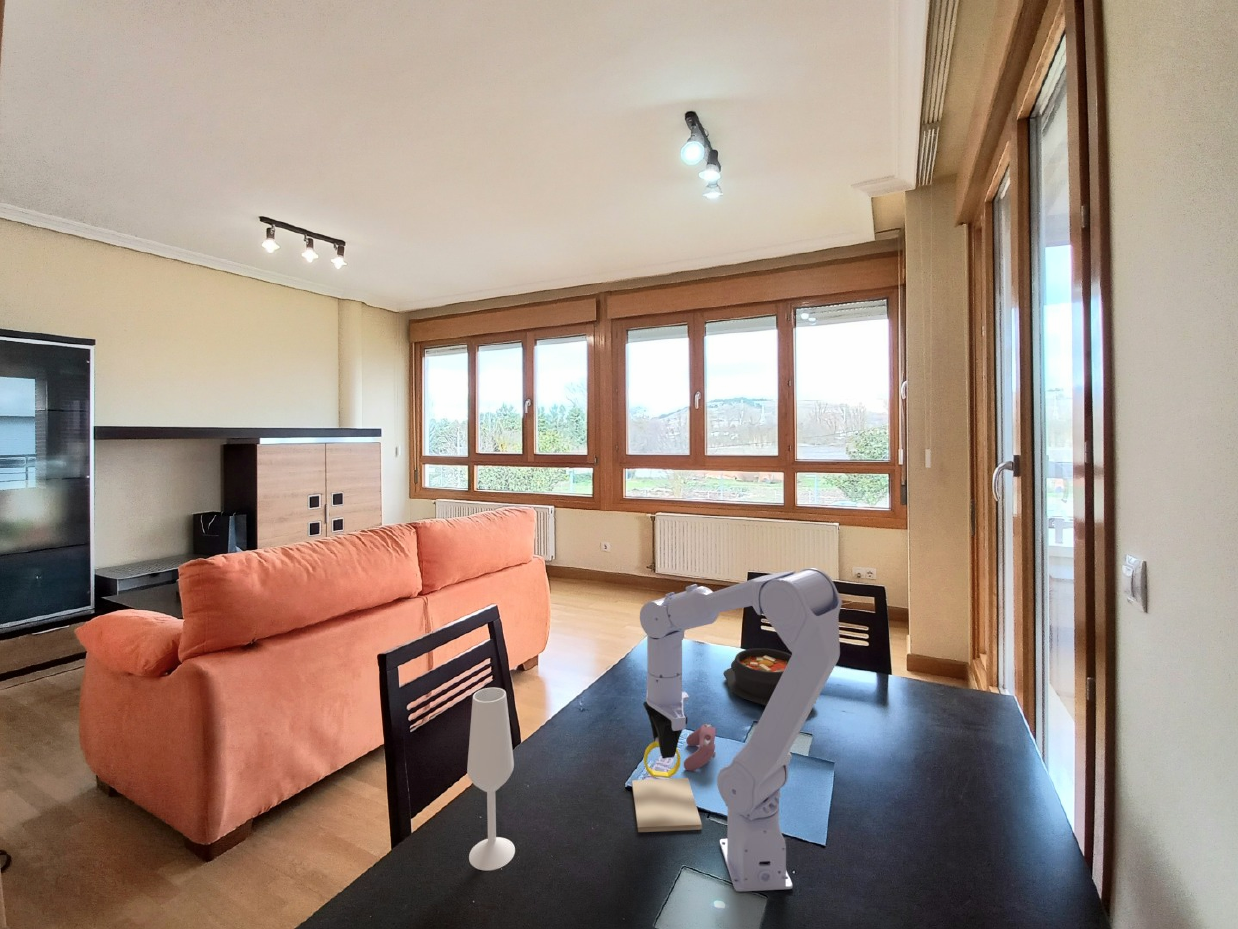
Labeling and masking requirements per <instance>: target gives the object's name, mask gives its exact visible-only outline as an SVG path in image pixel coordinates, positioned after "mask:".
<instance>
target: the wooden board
mask: <svg viewBox="0 0 1238 929" xmlns="http://www.w3.org/2000/svg"><path fill="white" fill-rule="evenodd" d="M631 786H632V794H633V795H632V796H633V804H634V808H635V817H636V818H635V819H636V826H637V833H650V832H651V833H652V832H655V833H656V832H674V831H696V830H698V831H699V830H702V829H703V825H702V820H701V816H700V813H699V811H698V807H697V806H698V805H697V803H696V800H695V797H694V794H693V791H692V786H691V783H690V780H689V777H680V778H678V777H677V778H658V779H657V778H656V779H655V778H653V779H634V780H633V779H632V780H631Z"/></svg>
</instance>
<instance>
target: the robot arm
mask: <svg viewBox="0 0 1238 929" xmlns="http://www.w3.org/2000/svg"><path fill="white" fill-rule="evenodd" d="M842 604H843V600H842V598H841V596H840V594H839V590H837V588H836V585H835V583H834V581H833V579H832V578H831V577H830V576H829V575H828V574H827V573H826V572H825V571H823V570H821V569H818V568H813V567H809V568H808V567H807V568H804V569H802V570H800V571H798V572H797V573H796V570H791V571H783V572H777V573H772V574H767V575H762V576H761V575H760V576H758V577H755V578H752V579H749V580H746V581H743V582H740V583H737V584H734V585H731V586H729V587H728V586H727V587H725V588H722V589H718V590H716V591H713V590H712V589H710V588H709V587H706V586H698V584H696V583H695V584H692V585H688V586H686V587H685V591H681V592H679V593H678V592H677V593H675V592H674V591H673V592H669V593H666V594H665V597H662V598H659V599H656V600H649V601H648V602H647V603H645V604H643V606H642V607H641V609H640V611H639V622H640V625H641V628H642V630H643V632H644V633H645V634H646V637H647V638H646V642H647V643H646V646H647V647H646V648H647V650H646V652H647V653H646V654H647V657H646V659H647V660H646V661H647V662H646V663H647V672H646V673H647V674H646V675H647V677H646V678H647V679H646V698H645V699H646V700H645V701H644V702H643V704H642V705H643V707H644V709H645V711H646V713H647V717H648V719H649V723H650V727H651V728H650V729H651V732H652V737H653V742H654V741H655V740H656V738H657V737H658V739H659V747H660V748H659V747H658V748H659V752H660V755H661V756H660V757H661V758H662V759H669V758H675V756H676V749H678V744H679V741H680V737H681V736H682V733H683V731H684V730H686V728H687V727H686V726H687V725H688V721H689V720H688V719H689V718H688V717H687V716H686V714H685V713H684V702H688V701H690V696H689V695H688V693H687V692H686V691H683V640H684V639H685V631H686V630H687V631H688V630H690V629H695V628H699V627H703V626H708V625H712V624H714V623H715V622H716V621H717V619H718V617H719V616H720V613H724V612H728V611H732V610H737V609H742V608H747V607H748V608H749V607H753V609H754V611H755V613H756V614H757V615H758V616H762V615H764V616H765V619H767V621H768V622H769V624H770V625H771V627H772V628H773V629H774V631H775V632H776V633H777V635H778V637H779V638H780V639H781V641H782V642H783V644H784V645H785V646H786V648H787V649H788V650H789V651H790V652H791V655H792V656H791V658H790V660H789V662H788V664H787V666H786V668H785V670H784V672H783V674H782V676H781V678H780V680H779V682H778V684H777V686H776V688H775V690H774V692H773V694H772V696H771V698H770V700H769V702H768V704H767V706H765V709H764V710H763V712H762V714H761V716H760V718H759V720H758V722H757V723H756V726H755V728H754V730H753V732H752V734H751V736H750V738H749V740H748V741H747V742H746V744H745V745H743V747H742V748H740V750H739V751H738V752H737V754H735V755H734V757H733V759H732V761H731V763H730V764H728V765H726V766H724V767H722V768H721V769H720V770H719V771H718V774H717V777H716V782H717V789H718V793H719V795H720V797H721V799H722V801H723V803H724V804H725V806H726V807H727V836H726V837H727V838H721V839H719V845H720V848H721V852H722V854H723V857H724V861H725V864H726V867H727V870H728V872H729V876H730V880H731V882H732V885H733V889H734V891H736V892H737V893H738V892H741V893H742V892H752V891H753V892H756V891H759V892H761V891H775V890H776V891H777V890H780V891H781V890H791V889H793V886H794V885H793V882H792V880H791V878H790V875H789V873H788V871H787V845H786V841H785V838H784V835H783V833H782V831H781V828H780V827H781V826H780V797H781V789H782V788H783V787H784V786H786V784H787V782H788V780H789V774H790V773H789V766H790V761H791V760H792V757H793V755H792V754H791V752H790V751H791V748H792V747H793V744H794V743H795V741H796V739H797V737H798V735H799V733H800V732H801V730H802V728H803V726H804V724H805V722H806V720H807V719H808V717H809V715H810V713H811V711H812V709H813V708H814V706H815V704H816V703H815V702H817V700H818V698H820V697H819V696H820V695H821V692H822V691H823V689H824V687H825V685H826V683H827V681H828V680H829V678H830V676H831V674H832V672H833V671H834V669H835V666H836V665H837V663H838V662H839V659H840V655H841V647H840V625H839V624H840V622H839V614H840V611H841V607H842Z"/></svg>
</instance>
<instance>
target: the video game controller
mask: <svg viewBox="0 0 1238 929" xmlns="http://www.w3.org/2000/svg"><path fill="white" fill-rule="evenodd" d="M716 731H717V728H716V727H714V725H711V724H707V723H706V722H705V723H704V724H702V725H701V726H700V727H699V728H698V729H696V730H695V731H693V732H691V733H690V734H688V735H687V737H686V740H685V741H686V744H687V745H688V747H697V746H698V748H697V750H696V751H694V752H693V753H692V754H690V755H689V756H688V757H686V759H685V760H684V761H683V768H684V769H685V770H686V771H689V772H691V771H696V770H699V769H701V768H702V767H704V766H706V764H707V763H709V762H710V761H711V759H714V758H716V757H717V756H716V755H717V752H716V751H715V750H716V744H715V739H716Z"/></svg>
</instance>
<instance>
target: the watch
mask: <svg viewBox="0 0 1238 929" xmlns="http://www.w3.org/2000/svg"><path fill="white" fill-rule="evenodd" d="M656 748H659V749H660V747H659V739H658V737H657V738H656V740H655V741H654V740H653V742H650V744H648V746H647V747H646V748H645V751H644V753H643V754H644V755H643V762H644V763H643V764H644V767H645V770H646V772H647V773H648V774H649V775H650V776H651V777H653V778H654V777H655V778H665V779H671V778H672V777H673V776H674V775H676V774H677V772H678V771H679V769H680V766H681V759H682V758H681V754H680V752H679V749H678V748H677V749H676V753H675V755H676V762H675V764H674V766H673V767H672V768H670V769H669V770H668V771H659V770H653V769H652V768H651V767H650V766H649V765H648V762H647V761H648V757H649V755H650V753H651V752H652V751H653V750H654V749H656Z"/></svg>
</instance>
